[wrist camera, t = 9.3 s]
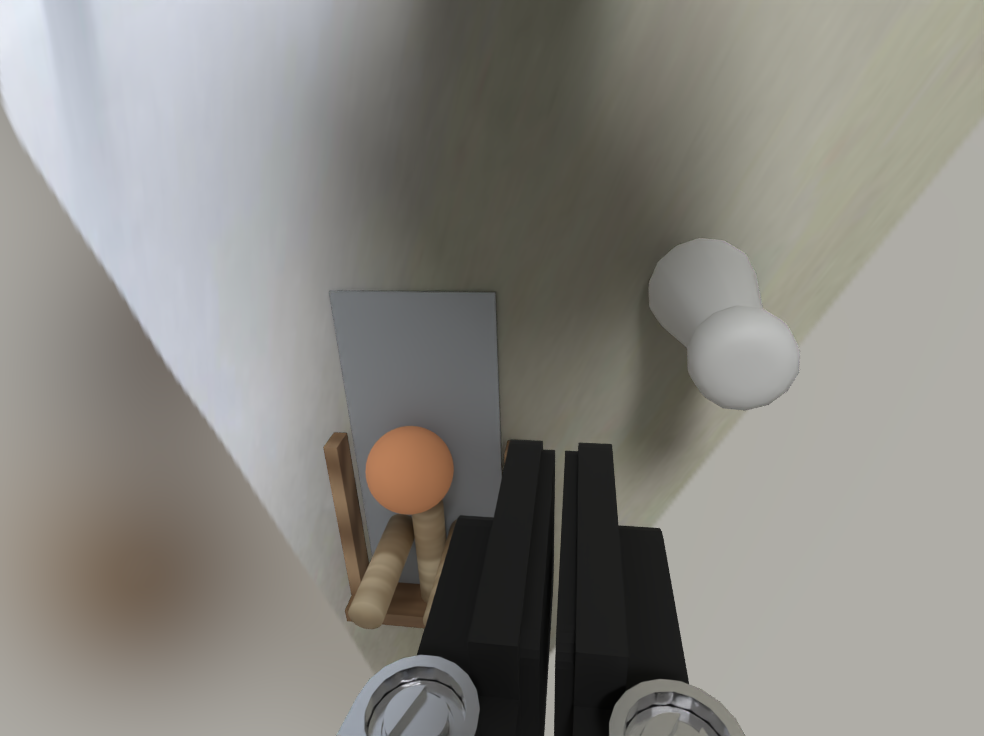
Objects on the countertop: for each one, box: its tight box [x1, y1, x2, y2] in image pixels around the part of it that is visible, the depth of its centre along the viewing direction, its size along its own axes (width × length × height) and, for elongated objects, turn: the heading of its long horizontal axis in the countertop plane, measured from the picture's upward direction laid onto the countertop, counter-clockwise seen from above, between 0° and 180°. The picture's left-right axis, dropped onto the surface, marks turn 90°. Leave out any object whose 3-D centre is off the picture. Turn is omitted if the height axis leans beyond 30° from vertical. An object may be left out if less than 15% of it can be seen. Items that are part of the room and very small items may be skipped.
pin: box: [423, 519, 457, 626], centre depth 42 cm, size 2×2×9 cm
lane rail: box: [323, 432, 510, 628], centre depth 44 cm, size 16×14×4 cm
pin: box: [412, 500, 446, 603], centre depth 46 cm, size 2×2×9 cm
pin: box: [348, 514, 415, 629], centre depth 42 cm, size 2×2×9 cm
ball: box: [365, 426, 454, 515], centre depth 40 cm, size 6×6×6 cm
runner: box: [329, 291, 502, 584], centre depth 43 cm, size 26×11×1 cm, turn 2°
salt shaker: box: [648, 238, 800, 410], centre depth 29 cm, size 6×6×13 cm
